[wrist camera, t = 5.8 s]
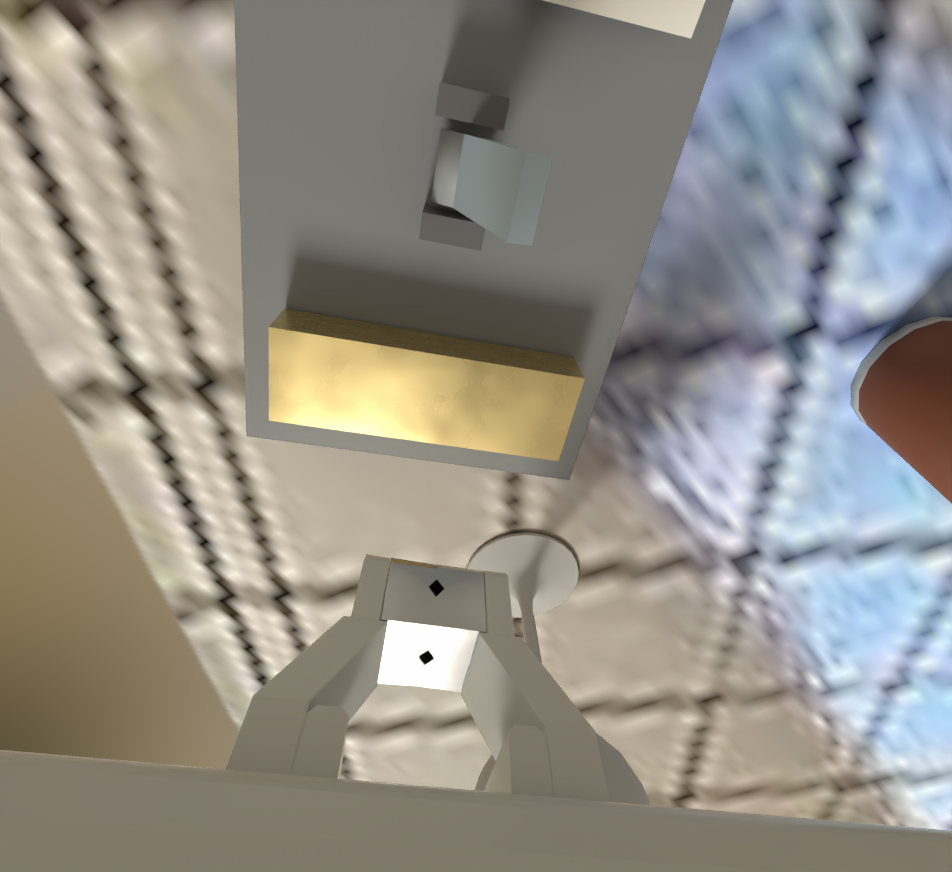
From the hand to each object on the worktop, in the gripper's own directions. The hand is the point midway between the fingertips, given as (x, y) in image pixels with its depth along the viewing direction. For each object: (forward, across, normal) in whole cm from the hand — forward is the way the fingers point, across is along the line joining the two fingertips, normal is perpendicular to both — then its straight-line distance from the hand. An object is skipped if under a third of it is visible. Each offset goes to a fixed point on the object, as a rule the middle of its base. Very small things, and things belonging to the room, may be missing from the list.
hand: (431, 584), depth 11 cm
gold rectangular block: (+11, +1, 0) cm, 11 cm away
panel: (+16, +1, -7) cm, 18 cm away
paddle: (+10, +1, -7) cm, 13 cm away
